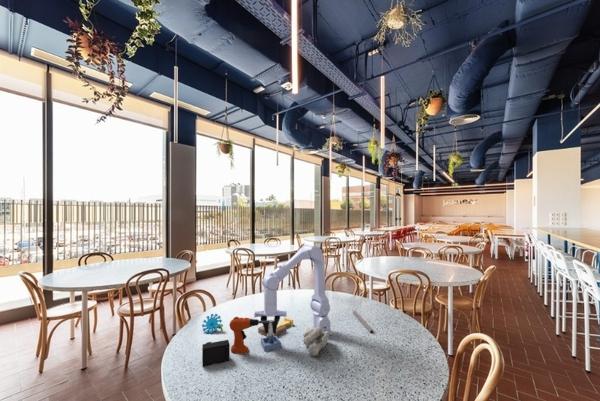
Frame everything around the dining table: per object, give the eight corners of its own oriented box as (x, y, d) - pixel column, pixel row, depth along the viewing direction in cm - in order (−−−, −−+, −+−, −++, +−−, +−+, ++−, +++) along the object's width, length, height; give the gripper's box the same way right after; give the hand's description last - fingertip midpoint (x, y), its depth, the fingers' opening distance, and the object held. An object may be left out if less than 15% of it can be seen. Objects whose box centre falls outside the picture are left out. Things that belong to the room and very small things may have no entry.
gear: (197, 329, 134) (208, 310, 141) (202, 334, 138) (212, 315, 145) (215, 335, 131) (226, 316, 137) (219, 340, 135) (229, 321, 141)
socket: (292, 328, 138) (292, 323, 138) (272, 338, 127) (272, 333, 127) (279, 323, 145) (279, 318, 145) (258, 332, 133) (258, 327, 133)
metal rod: (370, 334, 132) (370, 330, 132) (352, 313, 158) (352, 310, 159) (373, 334, 132) (373, 329, 132) (355, 313, 159) (355, 310, 159)
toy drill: (270, 353, 111) (266, 316, 112) (229, 355, 114) (225, 319, 115) (274, 347, 116) (269, 312, 117) (234, 349, 119) (230, 315, 120)
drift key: (293, 325, 142) (293, 319, 142) (279, 331, 134) (279, 326, 134) (286, 322, 146) (286, 317, 146) (272, 328, 138) (272, 323, 138)
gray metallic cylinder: (276, 341, 121) (275, 321, 121) (270, 344, 118) (270, 323, 119) (270, 339, 123) (270, 319, 124) (265, 342, 120) (265, 321, 121)
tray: (281, 347, 118) (281, 342, 118) (264, 351, 115) (264, 345, 116) (276, 340, 125) (276, 335, 125) (260, 343, 123) (260, 338, 123)
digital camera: (228, 354, 113) (228, 338, 113) (229, 361, 108) (229, 343, 108) (202, 360, 109) (202, 342, 109) (202, 367, 104) (202, 348, 104)
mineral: (336, 336, 124) (325, 315, 126) (330, 352, 107) (318, 328, 110) (313, 346, 126) (303, 326, 128) (304, 364, 109) (293, 341, 112)
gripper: (286, 299, 125) (286, 328, 125) (256, 299, 125) (256, 329, 125) (286, 304, 118) (286, 335, 118) (253, 304, 118) (253, 335, 118)
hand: (270, 332), depth 121 cm, fingers closed on gray metallic cylinder, 3 cm apart
